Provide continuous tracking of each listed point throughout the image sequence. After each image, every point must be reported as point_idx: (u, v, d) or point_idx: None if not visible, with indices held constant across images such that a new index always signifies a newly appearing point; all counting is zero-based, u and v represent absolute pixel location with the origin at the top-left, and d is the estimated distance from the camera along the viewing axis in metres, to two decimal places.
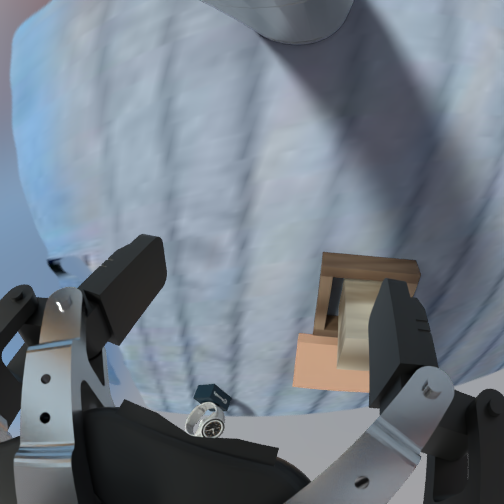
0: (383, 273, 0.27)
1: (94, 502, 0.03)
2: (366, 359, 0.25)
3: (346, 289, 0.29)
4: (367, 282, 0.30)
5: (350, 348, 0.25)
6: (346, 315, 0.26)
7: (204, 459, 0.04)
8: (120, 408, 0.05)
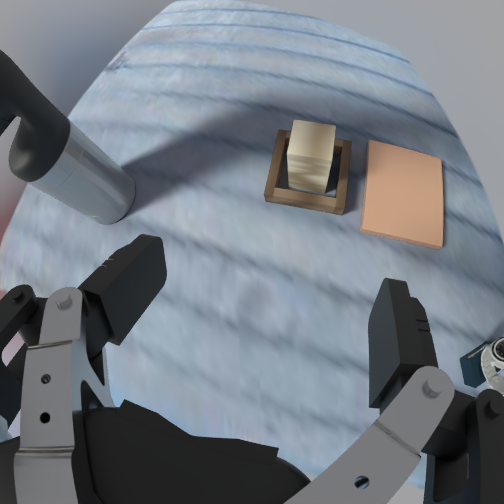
0: (274, 153, 0.38)
1: (94, 502, 0.03)
2: (317, 138, 0.31)
3: (288, 178, 0.37)
4: None
5: (300, 150, 0.31)
6: (288, 165, 0.34)
7: (204, 459, 0.04)
8: (120, 408, 0.05)
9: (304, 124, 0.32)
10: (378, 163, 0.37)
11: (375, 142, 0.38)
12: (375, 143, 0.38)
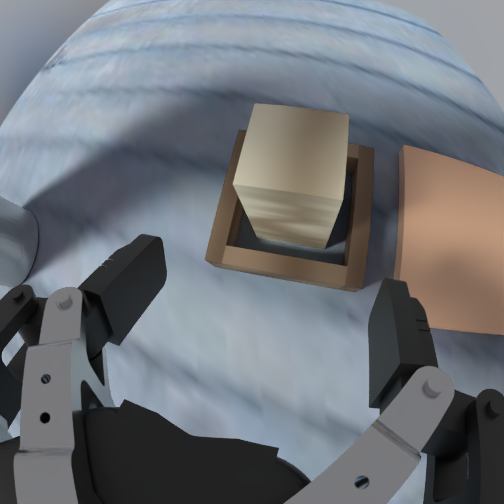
0: (229, 175, 0.21)
1: (94, 502, 0.03)
2: (307, 145, 0.13)
3: None
4: None
5: (266, 173, 0.13)
6: (244, 205, 0.16)
7: (204, 459, 0.04)
8: (120, 408, 0.05)
9: (277, 113, 0.14)
10: (421, 189, 0.19)
11: (414, 149, 0.20)
12: (414, 151, 0.20)
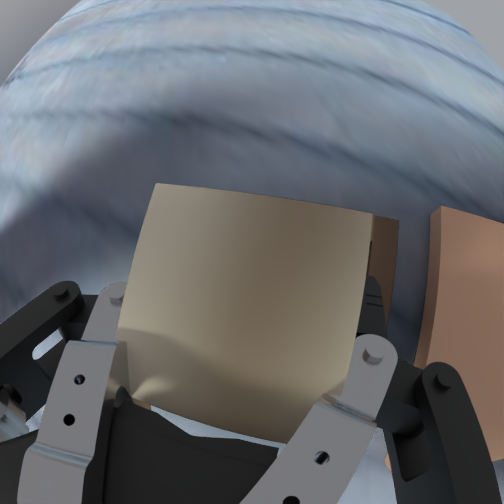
0: None
1: None
2: (260, 312, 0.06)
3: None
4: None
5: (165, 379, 0.06)
6: None
7: (204, 459, 0.04)
8: (120, 408, 0.05)
9: (200, 211, 0.06)
10: (461, 283, 0.12)
11: (455, 214, 0.13)
12: (455, 217, 0.13)
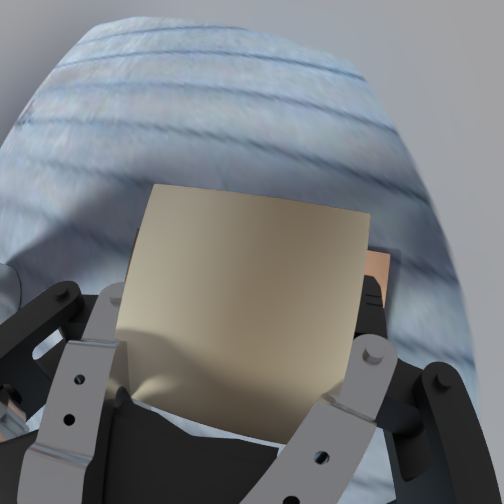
0: None
1: None
2: (258, 312, 0.06)
3: None
4: None
5: (163, 379, 0.06)
6: None
7: (204, 459, 0.04)
8: (120, 408, 0.05)
9: (197, 212, 0.06)
10: None
11: None
12: None
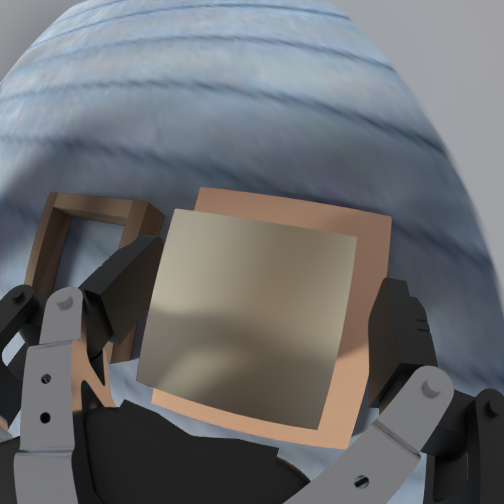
0: (36, 240, 0.19)
1: (94, 502, 0.03)
2: (265, 317, 0.07)
3: None
4: None
5: (186, 373, 0.07)
6: None
7: (204, 459, 0.04)
8: (120, 408, 0.05)
9: (214, 234, 0.08)
10: None
11: (213, 192, 0.18)
12: (212, 194, 0.18)
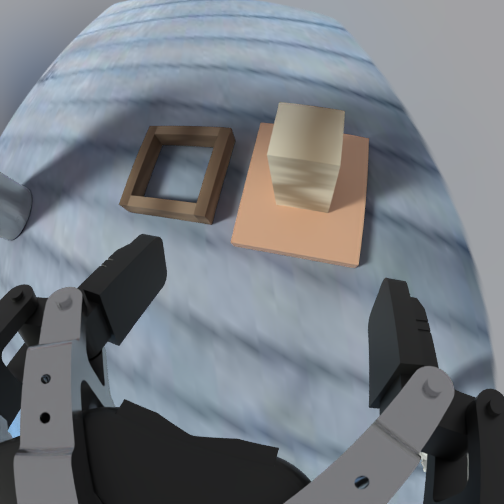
0: (139, 154, 0.31)
1: (94, 502, 0.03)
2: (316, 130, 0.19)
3: (274, 192, 0.26)
4: None
5: (289, 148, 0.19)
6: (271, 173, 0.22)
7: (204, 459, 0.04)
8: (120, 408, 0.05)
9: (295, 109, 0.20)
10: (266, 152, 0.29)
11: (268, 125, 0.30)
12: (268, 126, 0.30)
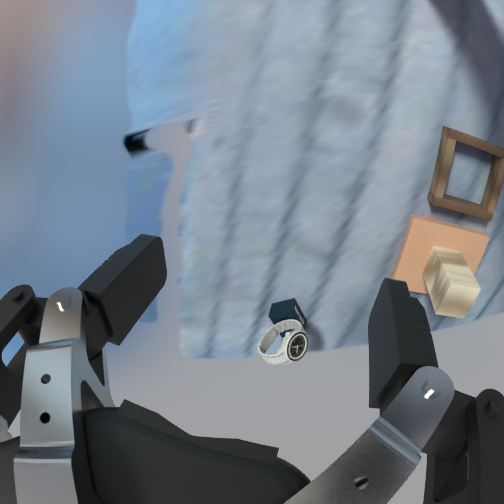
0: (488, 144, 0.26)
1: (94, 502, 0.03)
2: (457, 305, 0.30)
3: (438, 255, 0.34)
4: (449, 252, 0.35)
5: (451, 293, 0.29)
6: (445, 270, 0.31)
7: (204, 459, 0.04)
8: (120, 408, 0.05)
9: (473, 296, 0.29)
10: (468, 240, 0.34)
11: (486, 242, 0.33)
12: (485, 242, 0.33)
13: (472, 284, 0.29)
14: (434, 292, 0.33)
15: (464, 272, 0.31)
